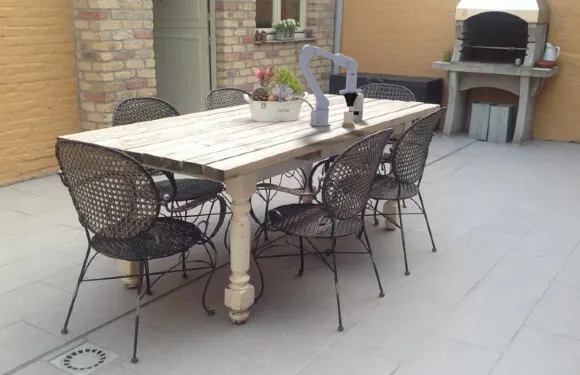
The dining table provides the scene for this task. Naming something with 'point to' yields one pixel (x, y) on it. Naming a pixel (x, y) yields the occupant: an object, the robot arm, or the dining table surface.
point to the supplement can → (357, 107)
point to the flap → (348, 118)
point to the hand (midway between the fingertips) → (350, 106)
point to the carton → (347, 125)
